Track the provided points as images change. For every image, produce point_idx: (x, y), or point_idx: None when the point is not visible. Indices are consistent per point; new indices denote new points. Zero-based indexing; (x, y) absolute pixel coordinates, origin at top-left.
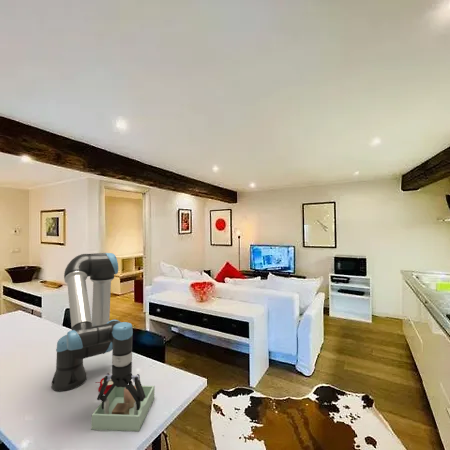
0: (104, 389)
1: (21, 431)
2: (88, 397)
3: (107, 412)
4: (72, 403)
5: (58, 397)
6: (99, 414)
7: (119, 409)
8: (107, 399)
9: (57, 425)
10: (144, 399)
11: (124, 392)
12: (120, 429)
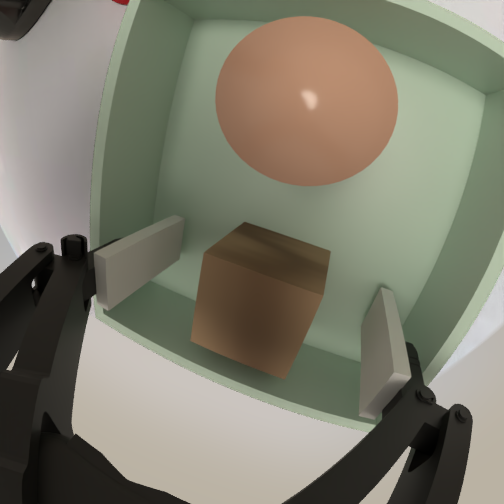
0: (14, 326)
1: (7, 217)
2: (79, 40)
3: (169, 243)
4: (43, 88)
5: (18, 65)
6: (128, 332)
7: (241, 342)
8: (102, 273)
9: (44, 213)
10: (434, 87)
11: (235, 142)
12: None
